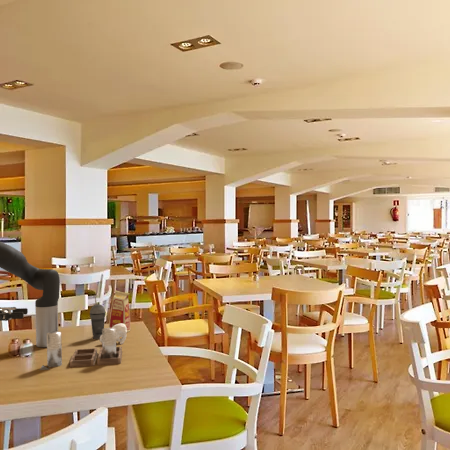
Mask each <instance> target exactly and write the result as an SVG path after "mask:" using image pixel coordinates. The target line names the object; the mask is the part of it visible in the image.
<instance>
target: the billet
mask: <svg viewBox="0 0 450 450" xmlns="http://www.w3.org/2000/svg"><path fill="white" fill-rule="evenodd" d="M101 344H102V347H101V348H102V350H103V359H104V358H116V347H117V341H116V328H109V327H104V329H102V343H101Z"/></svg>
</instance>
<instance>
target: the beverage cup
mask: <svg viewBox="0 0 450 450" xmlns="http://www.w3.org/2000/svg"><path fill="white" fill-rule="evenodd" d="M94 302H95V304H94V305H92V306H91V308H90V310H89V317H90V323H91V331H92V338H93V340H100V336H101V335H102V329H104V328H105V319H106V309H105V307H104V306H103V304H99V303H97V297H96V294H94Z"/></svg>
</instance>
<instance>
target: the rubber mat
mask: <svg viewBox="0 0 450 450" xmlns="http://www.w3.org/2000/svg"><path fill="white" fill-rule="evenodd" d="M46 370H50V367H48V366H45V365H44V364H42V366H41V367H40V368H39V371H46Z"/></svg>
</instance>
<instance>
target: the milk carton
mask: <svg viewBox="0 0 450 450" xmlns="http://www.w3.org/2000/svg"><path fill="white" fill-rule="evenodd" d="M114 291H115V293H114V295H113V299H112V304H111V307H110V308H111V309H110V314H109V315H110V316H109V321H108V323H109V324H108V328H112V327H114V326H115V325H116V324H120V323H123V324H125V325H126V327H127V333H129V332H130V331H131V312H130V303H129V295H130V294H131V293H129V292H122V291H119V290H114Z"/></svg>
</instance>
